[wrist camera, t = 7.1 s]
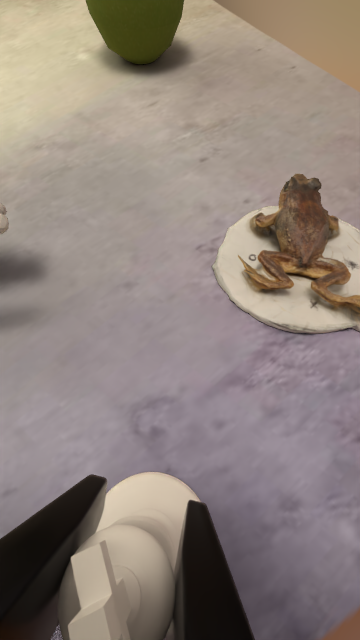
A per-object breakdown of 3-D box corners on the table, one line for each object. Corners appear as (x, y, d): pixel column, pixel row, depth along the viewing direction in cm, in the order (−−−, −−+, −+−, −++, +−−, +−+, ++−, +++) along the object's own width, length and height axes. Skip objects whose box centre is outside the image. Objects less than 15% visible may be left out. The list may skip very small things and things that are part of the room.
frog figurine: (205, 206, 25) (210, 162, 22) (355, 205, 25) (383, 161, 22) (218, 337, 20) (227, 304, 16) (410, 334, 20) (457, 301, 16)
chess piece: (105, 657, 11) (-179, 1310, 2) (71, 503, 13) (-135, 507, 4) (234, 585, 12) (403, 820, 3) (182, 452, 14) (196, 375, 5)
